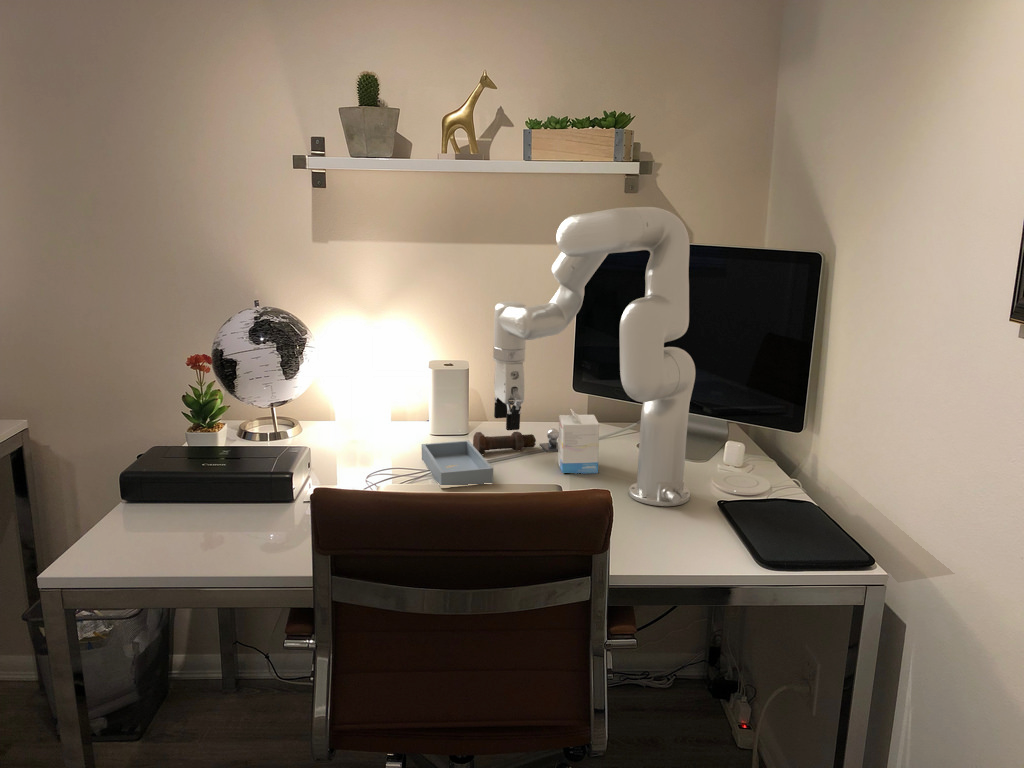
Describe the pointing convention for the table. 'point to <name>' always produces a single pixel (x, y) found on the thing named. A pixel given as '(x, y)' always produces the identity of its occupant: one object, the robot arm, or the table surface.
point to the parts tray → (456, 463)
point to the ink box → (578, 443)
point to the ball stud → (551, 441)
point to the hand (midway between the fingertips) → (506, 423)
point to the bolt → (503, 442)
